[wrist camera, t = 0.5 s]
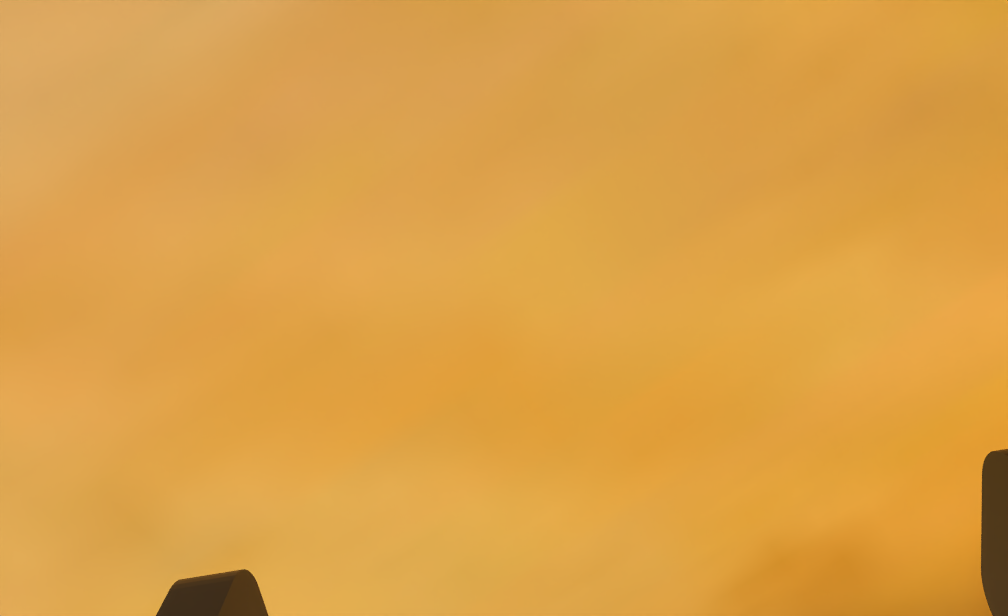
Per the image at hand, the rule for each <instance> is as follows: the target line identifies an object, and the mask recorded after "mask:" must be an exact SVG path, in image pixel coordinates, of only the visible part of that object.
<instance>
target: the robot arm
mask: <svg viewBox="0 0 1008 616" xmlns="http://www.w3.org/2000/svg"><path fill="white" fill-rule="evenodd" d="M981 576H982V583H983V588H984V592H985V596H986V599H987V602H988V605H989V608H990V610H991V612H992V615H993V616H1008V449H1004V450H998V451H992V452H990V453H989V454H988V455H987V456H986V458H985V460H984V464H983V469H982V534H981ZM156 616H268V613H267V610H266V607H265V604H264V601H263V598H262V596H261V593H260V590H259V587H258V584H257V582H256V580H255V578H254V576H253V575H252V574H251V573H250V572H249V571H248V570H245V569H244V570H237V571H231V572H225V573H219V574H212V575H206V576H200V577H194V578H187V579H181V580H178V581H176V582H175V583H174V584H173V586H172V587H171V589H170V590H169V592H168V594H167V596H166V598H165V600H164V602H163V603H162V605H161V607H160V609H159V611H158V613H157V615H156Z"/></svg>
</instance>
